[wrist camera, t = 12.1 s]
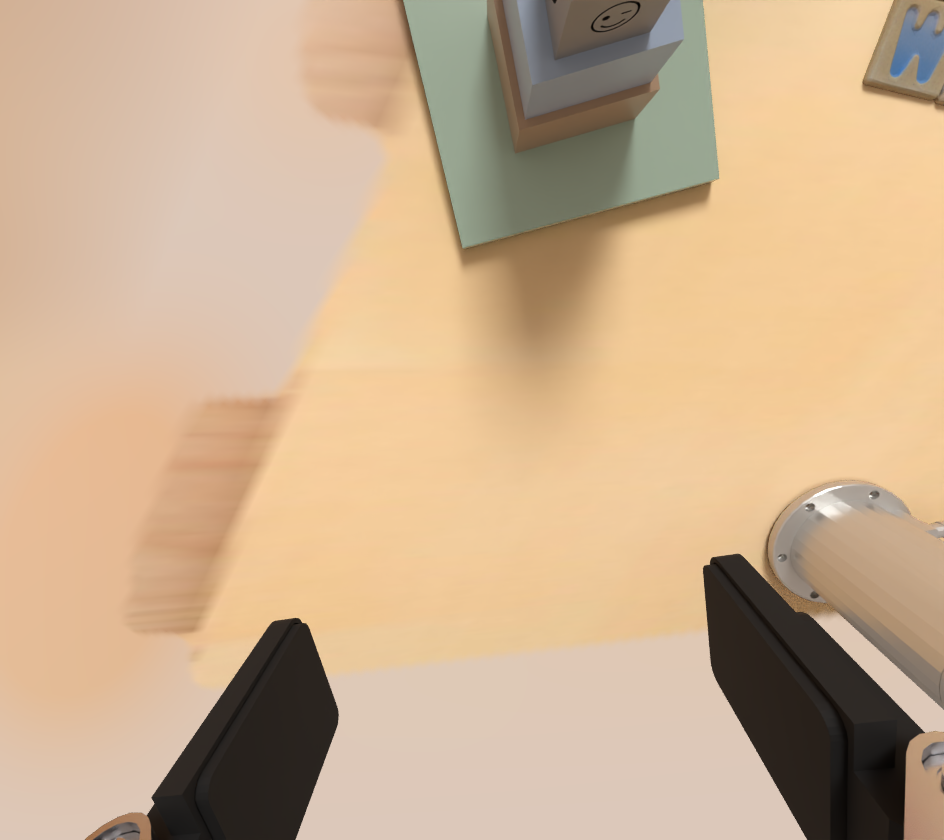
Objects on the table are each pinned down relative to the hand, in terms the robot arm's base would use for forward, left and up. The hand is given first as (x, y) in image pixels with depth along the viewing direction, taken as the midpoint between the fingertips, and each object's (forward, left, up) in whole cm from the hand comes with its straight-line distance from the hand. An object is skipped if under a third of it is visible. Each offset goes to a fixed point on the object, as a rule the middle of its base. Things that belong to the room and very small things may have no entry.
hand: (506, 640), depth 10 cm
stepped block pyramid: (-10, -21, -31) cm, 39 cm away
